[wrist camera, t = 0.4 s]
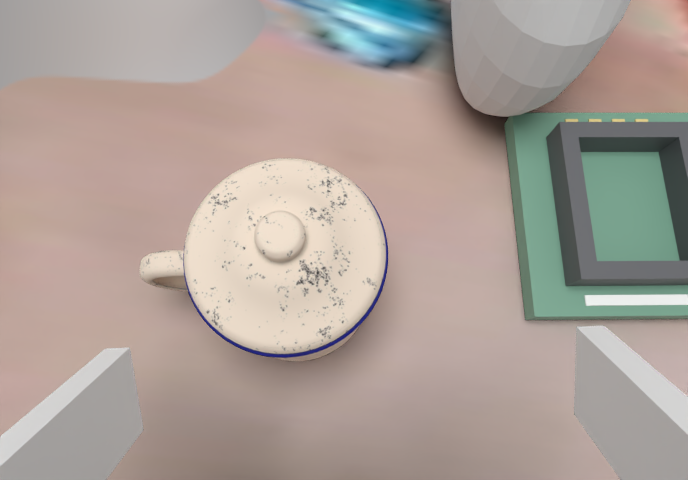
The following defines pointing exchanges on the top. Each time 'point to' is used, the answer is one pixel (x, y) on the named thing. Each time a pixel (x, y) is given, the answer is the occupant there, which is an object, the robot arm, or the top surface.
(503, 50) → the white round bottle
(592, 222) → the header board
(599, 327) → the robot arm
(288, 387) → the top surface
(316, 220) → the teacup with lid
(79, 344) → the top surface
